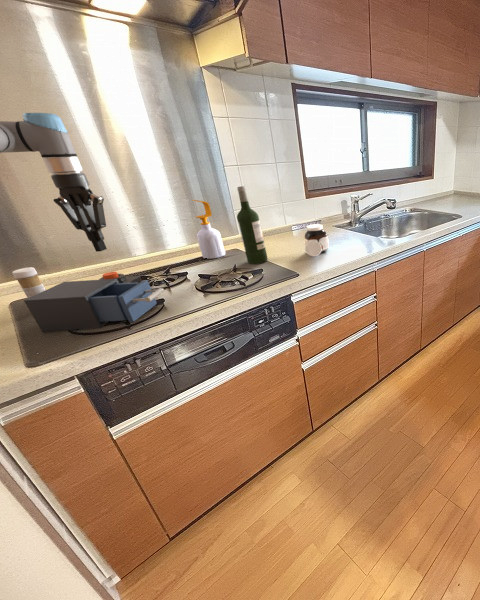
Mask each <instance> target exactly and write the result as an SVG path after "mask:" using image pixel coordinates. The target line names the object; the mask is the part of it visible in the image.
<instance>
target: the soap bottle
mask: <svg viewBox="0 0 480 600" xmlns="http://www.w3.org/2000/svg"><path fill="white" fill-rule="evenodd" d="M192 202H198V203H202V205H203V208H204V211H205V214H202V215H196V216H195V218H196V219H199V220H201V221H202V222H200V227H201V229H200V230H198V232H197V233H196V240H197V243H198V246H199V249H200V250H199V251H200V252H201V256H202V258H203V259H205V258H207V259H206V260H214V259H219V258H222V257H224V256H226V250H225V247H224V243H223V239H222V235H221V232H220V231H219V230H217V229H215V228H213V227H211V223H210V221H208V218H210V217H212V215H213V214H212V210H211V206H210V204H209V202H208V201H204V200H196V199H192Z"/></svg>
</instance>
